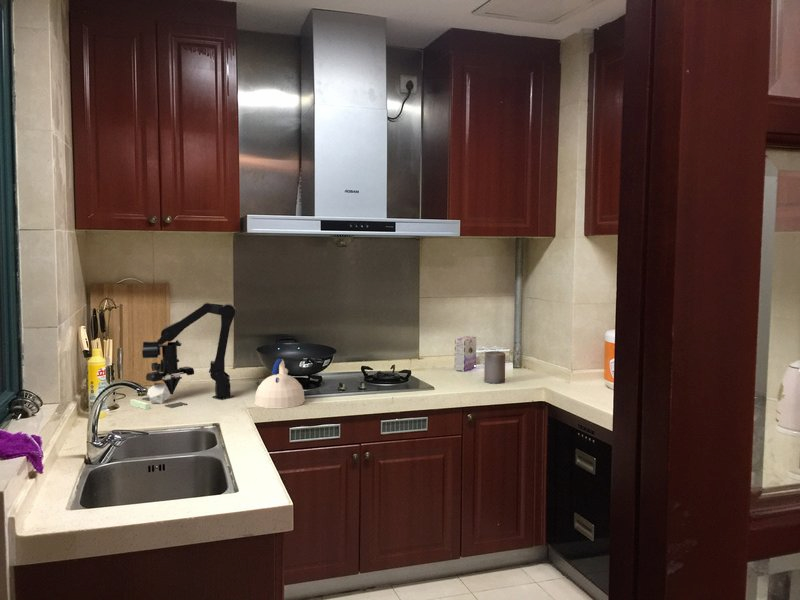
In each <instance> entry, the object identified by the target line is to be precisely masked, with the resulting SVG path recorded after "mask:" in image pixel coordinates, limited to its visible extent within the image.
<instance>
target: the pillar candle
mask: <svg viewBox="0 0 800 600" xmlns="http://www.w3.org/2000/svg"><path fill="white" fill-rule="evenodd" d="M483 369H484V371H483V372H484V375H483V376H484V377H483V381H484V383H486V384H494V385H500V384H504V383H506V353H505V352H504V351H496V350H492V351H486V352H484V368H483Z"/></svg>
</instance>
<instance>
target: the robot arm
mask: <svg viewBox="0 0 800 600" xmlns="http://www.w3.org/2000/svg"><path fill="white" fill-rule="evenodd" d="M207 314H213V315H217V316H218V315H219V316H220V322H221V323H220V324H221V326H220V331H219V338H218V342H217V348H216V349H217V350H216V354H215V359H214V360H210V365H209V366H210V368H209V369H208V373H209V376H210V378H211V380H212V381H214V382H215V384H214V386H215V387H214V391H215V394H214V395H212V398H214V399H217V400H226V399H231V398H234V395H232V394H231V392H232V391H231V383H230V381H231V376H230V375H229V374H228V373H227V372H226V368H225V367H226V364H225V362H226V361H225V360H226V359H225V358H226V353H227V346H228V341H229V335H230V331H231V330H230V329H231V325H232V324H233V320H234V318H235V314H236V307H235V306H234V305H233V304H231V303H225V304H218V303H210V302H205V303H204V304H203V305H201V306H199V307H198V308H197V309H195V310H194V311H192V312H191V313H189V314H188V315H186V316H185V317H183V318H182V319H181V320H179V321H177V322H174V323H171V324H169V325H167V326H165V327H164V328H163V329H162V330H161V331H160V332H161V333H160V336H161V337H159V338H158V339H157V341H143V342H142V351H141V353H142V359H157V358H159V356H161V357H162V358H161V359H160V363H158V362H151V371H152V372H148V373H147V374H145V375H146V376H145V380H146V381H149V382H155V383H156V382H160V381H163V383H164V384H166V386H167V388H168V390H169V392H170V394H171V395H170V396H172V395H174V392H175V390H176V388H177V387H178V384H179V382H180V380H181V379H183V376H181V375H184V374H185V375H187V376H193V375H195V369H194V368H193V367H190V366H182V367H179V366H178V364H179V363H180V359H179V358H178V347H181V346H182V342H180V341H179V339H176V338H177V337H178V336H179V335H180V334H181V333H182V332H183V331H184V330H185V329H186V328H187V327H189V326H191V325H192V324H193V323H195V322H196V321H198V320H199V319H201V318H203V317H204V316H206V315H207ZM175 339H176V341H173V340H175ZM161 353H162V355H161Z"/></svg>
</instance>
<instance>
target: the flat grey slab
mask: <svg viewBox="0 0 800 600" xmlns="http://www.w3.org/2000/svg"><path fill="white" fill-rule="evenodd" d="M142 400H144V401H147V402H144V401H142ZM129 401H130V402H129V405H130V406H133V407H136V408H140V409H143V410H150V403H148V402H149V401H150V399H149V397H148V396H147V397H143V398H141V400H138V399H135V398H133V399H132V398H131V399H129ZM150 402H151V401H150ZM183 405H184V406H187V405H188V403H186V402H182V401H180V402H174V403H170V404H169V403H168V404H165V405H164V407H167V408H170V409H174V408H177V407H183Z"/></svg>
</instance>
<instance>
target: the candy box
mask: <svg viewBox="0 0 800 600" xmlns="http://www.w3.org/2000/svg"><path fill="white" fill-rule="evenodd" d="M474 365H476V366H477V336H473V335H472V336H470V335H469V336H468V335H465V336H463V337H459V338H456V339H454V372H455V371H456V372H463V373H464V372H468V371H469V370H473V369H475V368H474Z"/></svg>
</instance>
